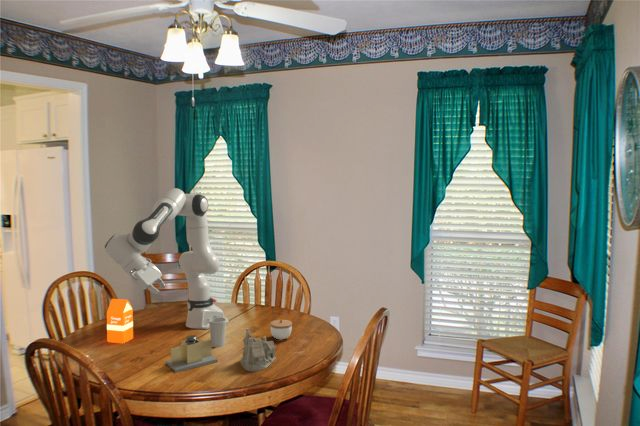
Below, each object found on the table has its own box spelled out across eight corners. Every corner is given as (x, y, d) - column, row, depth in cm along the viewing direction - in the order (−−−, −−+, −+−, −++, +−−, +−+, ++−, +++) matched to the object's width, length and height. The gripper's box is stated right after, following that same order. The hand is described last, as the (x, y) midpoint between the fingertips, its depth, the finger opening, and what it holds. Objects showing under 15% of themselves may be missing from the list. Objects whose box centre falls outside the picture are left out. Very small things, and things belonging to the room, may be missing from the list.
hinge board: (206, 353, 204) (206, 351, 204) (217, 361, 195) (217, 359, 195) (166, 363, 193) (166, 360, 193) (175, 372, 184) (175, 369, 184)
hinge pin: (194, 357, 196) (194, 334, 196) (198, 360, 193) (197, 337, 192) (185, 359, 194) (185, 336, 193) (189, 362, 191) (188, 339, 190)
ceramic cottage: (244, 372, 185) (246, 335, 184) (237, 358, 200) (240, 324, 200) (281, 370, 190) (283, 334, 189) (272, 357, 205) (274, 323, 205)
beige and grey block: (208, 352, 202) (208, 335, 201) (214, 357, 197) (214, 339, 196) (168, 362, 191) (168, 343, 190) (174, 367, 186) (173, 348, 185)
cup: (211, 348, 210) (211, 323, 209) (207, 343, 217) (207, 318, 216) (228, 346, 213) (228, 321, 213) (223, 340, 220) (223, 316, 220)
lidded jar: (265, 339, 223) (265, 320, 222) (277, 333, 232) (278, 315, 232) (284, 343, 218) (284, 324, 217) (296, 336, 227) (296, 318, 227)
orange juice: (123, 343, 215) (122, 302, 213) (107, 342, 217) (106, 300, 215) (133, 338, 223) (132, 297, 221) (117, 336, 224) (116, 296, 223)
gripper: (133, 266, 179) (159, 291, 181) (150, 257, 200) (173, 279, 201) (122, 277, 180) (148, 302, 181) (140, 267, 200) (163, 289, 201)
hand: (161, 290), depth 191 cm, fingers open, 8 cm apart
